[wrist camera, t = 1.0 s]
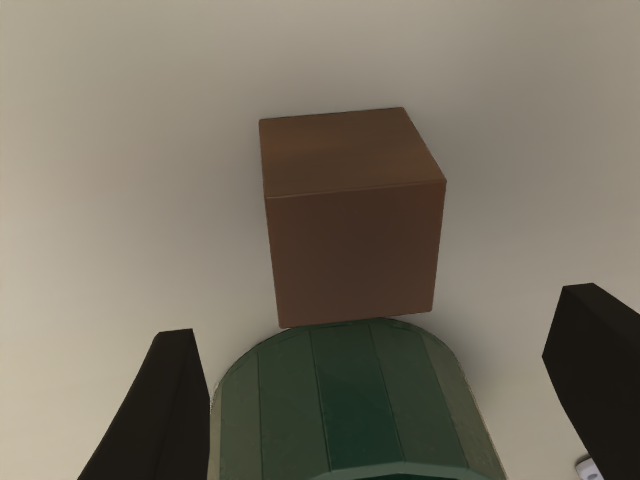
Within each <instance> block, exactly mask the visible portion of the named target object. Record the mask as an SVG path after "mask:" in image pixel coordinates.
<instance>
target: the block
mask: <svg viewBox="0 0 640 480" xmlns="http://www.w3.org/2000/svg"><path fill="white" fill-rule="evenodd" d="M259 134H260V147H261V161H262V174H263V188H264V200H265V209H266V217H267V226H268V235H269V243H270V252H271V260H272V269H273V277H274V286H275V294H276V303H277V311H278V320H279V327H280V328H282V329H283V328H292V327H300V326H309V325H318V324H327V323H335V322H344V321H353V320H362V319H370V318H379V317H388V316H396V315H405V314H414V313H423V312H430V311H432V305H433V296H434V287H435V279H436V270H437V261H438V252H439V244H440V235H441V226H442V217H443V209H444V200H445V191H446V182H447V180H446V178H445V177H444V175H443V173H442V172H441V170H440V168H439V167H438V165H437V163H436V162H435V160H434V158H433V157H432V155H431V153H430V152H429V150H428V148H427V147H426V145H425V143H424V141H423V140H422V138H421V136H420V135H419V133H418V131H417V130H416V128H415V126H414V125H413V123H412V121H411V120H410V118H409V116H408V115H407V113H406V111H405V110H404V108H391V109H379V110H368V111H356V112H344V113H333V114H321V115H310V116H298V117H287V118H275V119H264V120H259Z"/></svg>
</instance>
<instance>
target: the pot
mask: <svg viewBox="0 0 640 480" xmlns="http://www.w3.org/2000/svg"><path fill="white" fill-rule="evenodd" d="M207 480H508V477H507V475H506V473H505V470H504V468H503V465H502V463H501V461H500V458H499V456H498V453H497V451H496V449H495V446H494V444H493V441H492V439H491V437H490V434H489V432H488V429H487V427H486V425H485V422H484V420H483V417H482V415H481V413H480V410H479V408H478V405H477V403H476V401H475V398H474V396H473V394H472V391H471V389H470V386H469V384H468V382H467V380H466V378H465V376H464V373H463V371H462V369H461V367H460V364H459V362H458V360H457V359H456V357H455V355H454V354H453V352H452V351H451V350H450V349H449V348H448V347H447V346H446V345H445V344H444V343H443V342H442V341H440V340H439V339H438V338H436V337H435V336H434V335H432V334H430V333H428V332H426V331H425V330H423V329H420V328H418V327H415V326H413V325H410V324H407V323H403V322H399V321H395V320H391V319H383V318H370V319H362V320H353V321H344V322H335V323H327V324H318V325H309V326H300V327H296V328H293V329H290V330H287V331H285V332H282V333H280V334H278V335H276V336H274V337H272V338H270V339H267V340H266V341H264V342H262V343H261V344H259V345H258V346H256V347H254V348H253V349H251V350H250V351H249V352H248V353H246V354H245V355H244V356H243V357H241V358H240V359H239V360H238V361H237V362H236V363H235V364H234V365H233V366H232V367H231V368H230V369H229V371H228V372H227V373H226V375H225V376H224V378H223V379H222V380H221V382H220V384H219V386H218V388H217V390H216V392H215V396H214V400H213V403H212V411H211V413H210V454H209V465H208V474H207Z"/></svg>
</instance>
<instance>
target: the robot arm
mask: <svg viewBox="0 0 640 480" xmlns="http://www.w3.org/2000/svg"><path fill="white" fill-rule="evenodd" d="M542 359H543V361H544V364H545V366H546V369H547V372H548V374H549V377H550V379H551V382H552V384H553V386H554V389H555V391H556V393H557V396H558V398H559V400H560V403H561V405H562V407H563V408H564V410H565V412H566V414H567V416H568V418H569V419H570V421H571V423H572V425H573V426H574V428H575V430H576V432H577V434H578V435H579V437H580V439H581V441H582V442H583V444H584V446H585V448H586V449H587V451H588V453H589V455H590V456H591V458H590V459H588V460H585V461H583V462H581V463H580V464H578V465H577V467H576V471H577V472H578V474H579V476H580V477H581V479H582V480H640V315H639V314H638V313H637V312H635V311H634V310H632V309H631V308H629V307H628V306H627V305H625V304H624V303H622V302H621V301H619V300H618V299H617V298H615V297H614V296H612V295H611V294H609V293H608V292H606V291H605V290H603V289H602V288H600V287H599V286H597V285H596V284H594V283H587V284H578V285H569V286H563V288H562V291H561V295H560V298H559V301H558V304H557V308H556V311H555V314H554V318H553V321H552V324H551V328H550V331H549V334H548V338H547V341H546V344H545V347H544V351H543V354H542ZM209 454H210V397H209V393H208V389H207V385H206V381H205V377H204V373H203V369H202V365H201V361H200V357H199V353H198V349H197V345H196V341H195V337H194V333H193V329H192V328H190V329H182V330H173V331H164V332H159V333H158V334H157V335H156V336H155V337H154V339H153V342H152V344H151V346H150V348H149V351H148V353H147V355H146V357H145V359H144V361H143V363H142V366H141V368H140V370H139V372H138V374H137V376H136V378H135V380H134V382H133V384H132V386H131V387H130V389H129V391H128V393H127V395H126V397H125V399H124V401H123V403H122V404H121V406H120V408H119V410H118V412H117V413H116V415H115V417H114V419H113V421H112V422H111V424H110V426H109V428H108V430H107V431H106V433H105V435H104V437H103V438H102V440H101V442H100V443H99V445H98V447H97V448H96V450H95V452H94V453H93V455H92V456H91V458H90V460H89V461H88V463H87V464H86V466H85V468H84V469H83V471H82V472H81V474H80V476H79V477H78V479H77V480H207V474H208V465H209Z"/></svg>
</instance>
